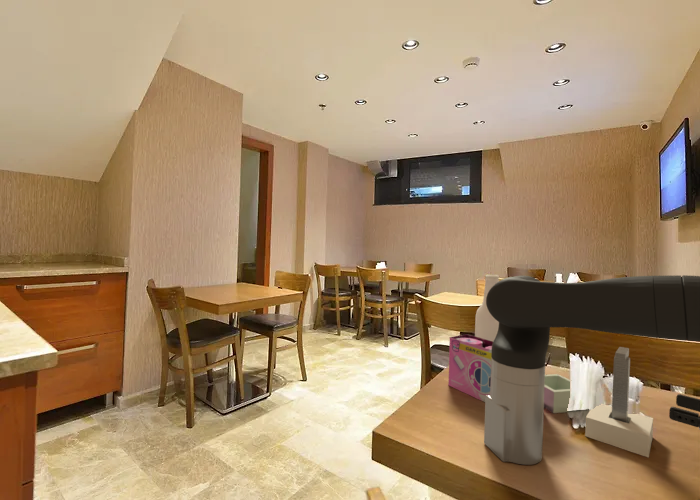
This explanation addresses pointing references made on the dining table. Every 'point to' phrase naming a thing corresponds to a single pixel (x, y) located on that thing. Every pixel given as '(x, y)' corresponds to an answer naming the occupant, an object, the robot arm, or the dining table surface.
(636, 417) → the key block
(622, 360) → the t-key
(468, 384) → the gum box
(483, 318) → the alcohol
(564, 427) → the dining table surface
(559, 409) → the bin
